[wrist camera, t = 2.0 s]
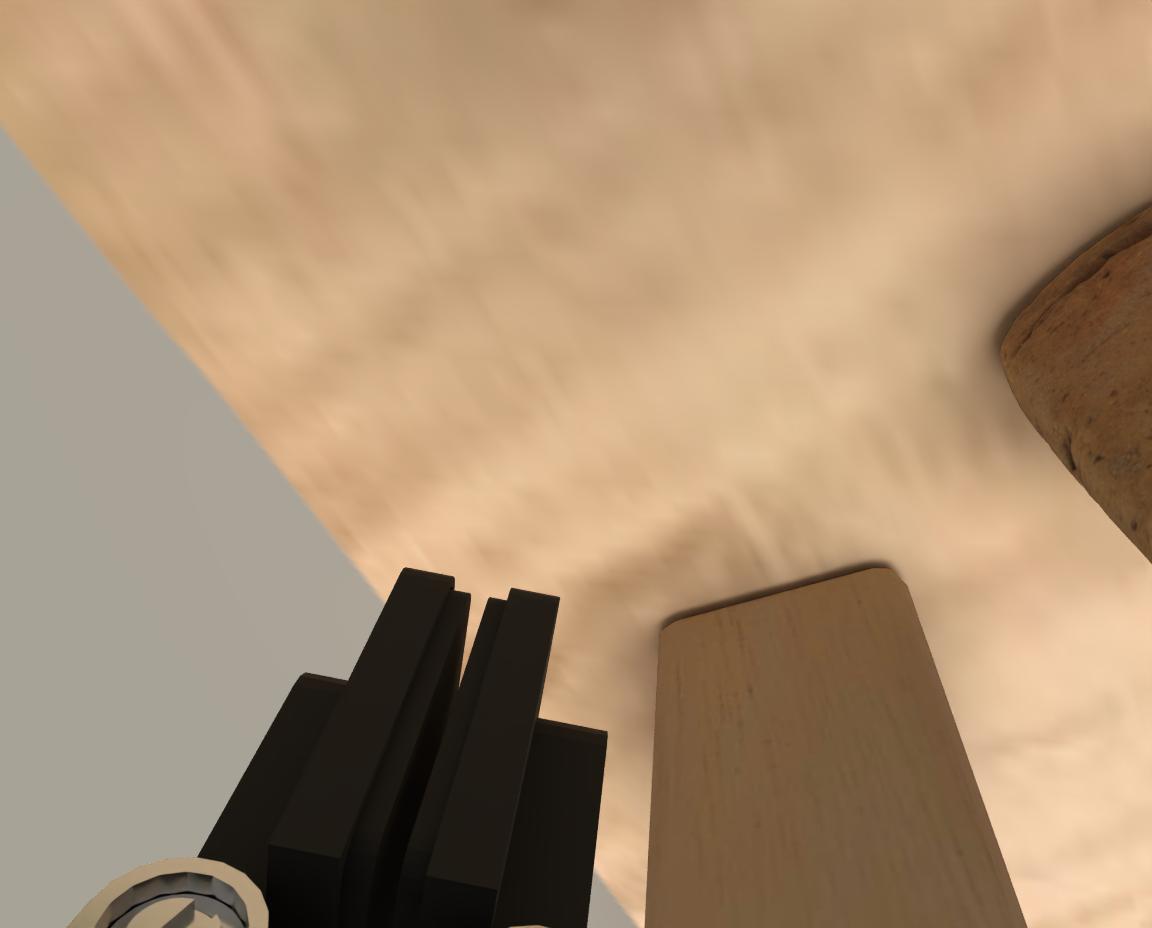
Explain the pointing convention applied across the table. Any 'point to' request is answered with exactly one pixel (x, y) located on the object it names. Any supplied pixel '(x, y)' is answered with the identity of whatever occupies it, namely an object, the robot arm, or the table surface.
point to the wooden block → (815, 772)
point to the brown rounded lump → (1095, 373)
